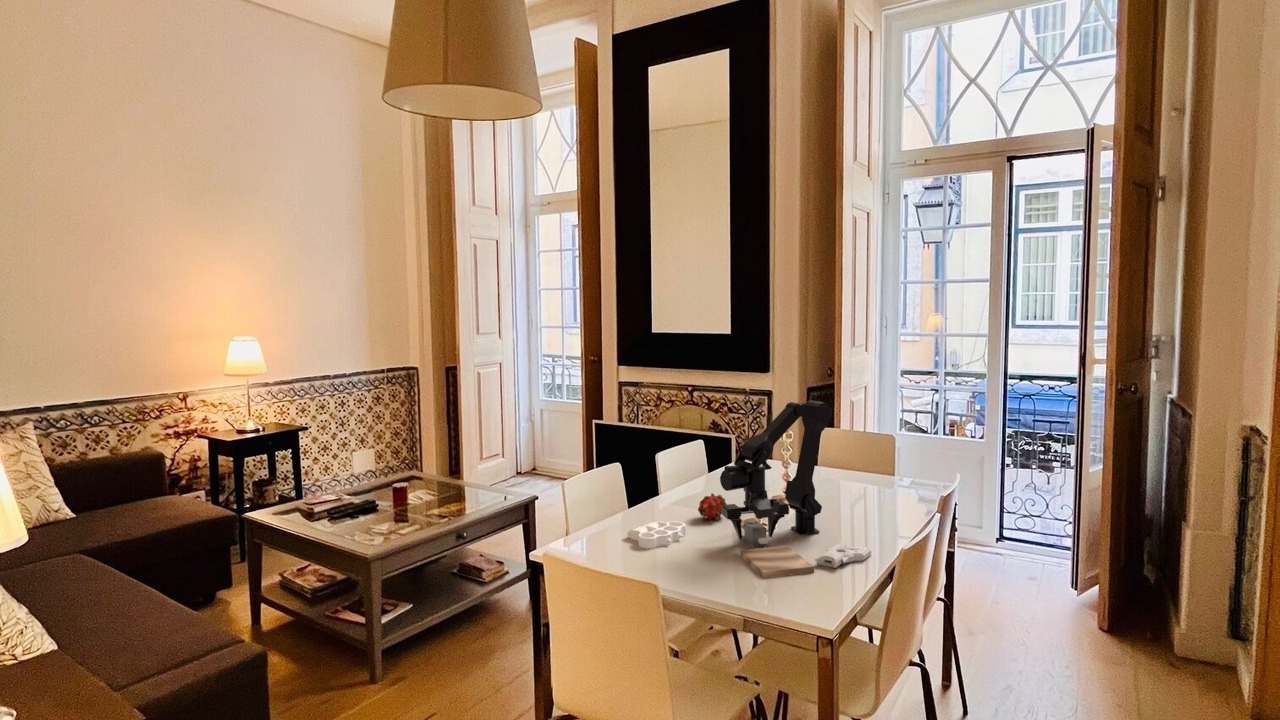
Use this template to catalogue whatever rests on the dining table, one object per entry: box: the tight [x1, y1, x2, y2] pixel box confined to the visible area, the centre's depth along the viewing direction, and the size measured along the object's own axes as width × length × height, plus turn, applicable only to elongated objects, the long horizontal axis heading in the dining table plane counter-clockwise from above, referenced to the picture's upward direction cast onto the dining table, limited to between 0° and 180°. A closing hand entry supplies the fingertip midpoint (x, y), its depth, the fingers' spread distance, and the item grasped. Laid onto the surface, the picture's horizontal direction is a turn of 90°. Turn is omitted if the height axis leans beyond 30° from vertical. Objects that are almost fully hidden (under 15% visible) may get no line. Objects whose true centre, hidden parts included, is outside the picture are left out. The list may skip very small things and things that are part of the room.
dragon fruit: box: [697, 493, 728, 521], centre depth 225 cm, size 8×8×12 cm
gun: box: [814, 543, 872, 569], centre depth 188 cm, size 18×4×10 cm
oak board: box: [739, 545, 815, 579], centre depth 186 cm, size 16×14×2 cm
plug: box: [742, 519, 770, 549], centre depth 202 cm, size 14×4×5 cm, turn 13°
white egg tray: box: [626, 520, 687, 549], centre depth 207 cm, size 3×18×15 cm
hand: (755, 538), depth 202 cm, fingers open, 9 cm apart
